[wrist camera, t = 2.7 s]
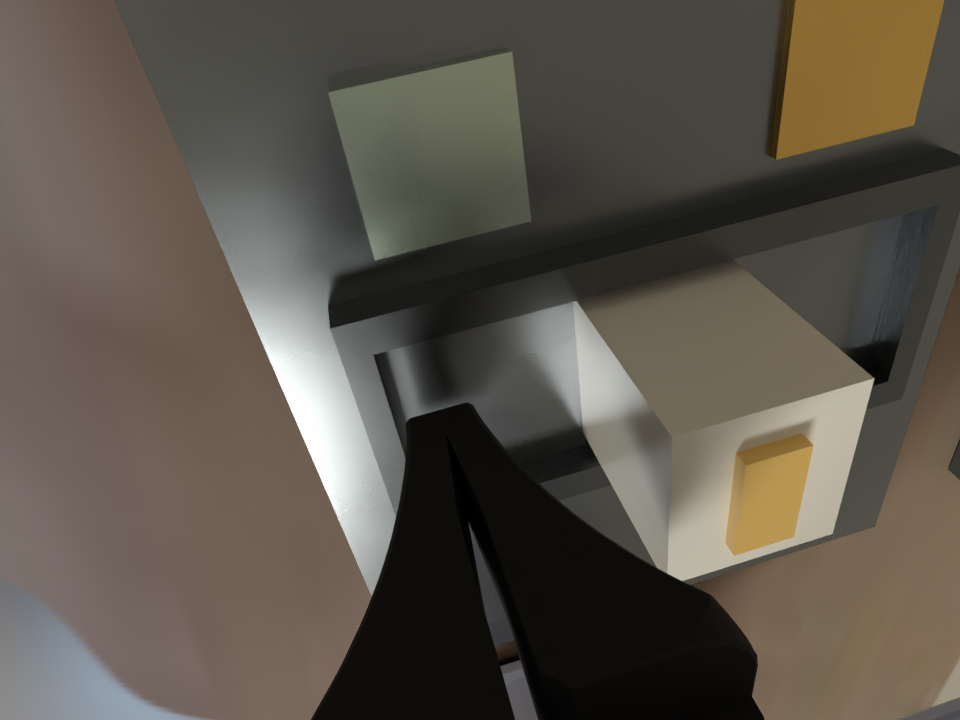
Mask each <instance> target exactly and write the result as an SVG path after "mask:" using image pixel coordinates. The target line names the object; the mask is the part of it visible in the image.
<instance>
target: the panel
mask: <svg viewBox="0 0 960 720" xmlns="http://www.w3.org/2000/svg"><path fill="white" fill-rule="evenodd" d="M115 3H116V5H117V7H118V10H119V12H120V14H121V17H122V19H123V21H124V23H125V26H126V28H127V30H128V33H129V35H130V37H131V40H132V42H133V44H134V47H135V49H136V51H137V54H138V56H139V58H140V61H141V63H142V65H143V68H144V70H145V72H146V74H147V77H148V79H149V81H150V84H151V86H152V88H153V91H154V93H155V95H156V98H157V100H158V102H159V105H160V107H161V109H162V112H163V114H164V116H165V118H166V121H167V123H168V125H169V128H170V130H171V132H172V135H173V137H174V139H175V142H176V144H177V146H178V149H179V151H180V153H181V156H182V158H183V160H184V162H185V165H186V167H187V169H188V172H189V174H190V176H191V179H192V181H193V183H194V186H195V188H196V190H197V193H198V195H199V197H200V200H201V202H202V204H203V207H204V209H205V211H206V213H207V216H208V218H209V220H210V223H211V225H212V227H213V230H214V232H215V234H216V237H217V239H218V241H219V244H220V246H221V248H222V251H223V253H224V255H225V257H226V260H227V262H228V264H229V267H230V269H231V271H232V274H233V276H234V278H235V281H236V283H237V285H238V288H239V290H240V292H241V295H242V297H243V299H244V301H245V304H246V306H247V308H248V311H249V313H250V315H251V318H252V320H253V322H254V325H255V327H256V329H257V332H258V334H259V336H260V339H261V341H262V343H263V346H264V348H265V350H266V352H267V355H268V357H269V359H270V362H271V364H272V366H273V369H274V371H275V373H276V376H277V378H278V380H279V383H280V385H281V387H282V390H283V392H284V394H285V396H286V399H287V401H288V403H289V406H290V408H291V410H292V413H293V415H294V417H295V420H296V422H297V424H298V427H299V429H300V431H301V434H302V436H303V438H304V440H305V443H306V445H307V447H308V450H309V452H310V454H311V457H312V459H313V461H314V464H315V466H316V468H317V471H318V473H319V475H320V478H321V480H322V482H323V485H324V487H325V489H326V491H327V494H328V496H329V498H330V501H331V503H332V505H333V508H334V510H335V512H336V515H337V517H338V519H339V522H340V524H341V526H342V529H343V531H344V533H345V535H346V538H347V540H348V542H349V545H350V547H351V549H352V552H353V554H354V556H355V559H356V561H357V563H358V566H359V568H360V570H361V573H362V575H363V577H364V580H365V582H366V584H367V586H368V589H369V591H370V593H371V596H372V595H373V592H374V590H375V587H376V584H377V582H378V579H379V576H380V573H381V570H382V567H383V564H384V561H385V557H386V554H387V551H388V547H389V544H390V540H391V536H392V532H393V528H394V524H395V519H396V515H397V511H398V506H399V501H400V496H401V490H402V483H403V476H404V470H405V460H406V444H407V436H406V423H407V421H408V420H409V419H410V418H412V417H416V416H420V415H423V414H427V413H430V412H434V411H437V410H441V409H445V408H448V407H452V406H455V405H459V404H462V403H466V402H468V403H470V404H472V405H474V407H475V409H476V411H477V413H478V414H479V416H480V417H481V419H482V420H483V421H484V423H485V424H486V426H487V427H488V428H489V430H490V431H491V432H492V433H493V435H494V436H495V437H496V438H497V439H498V441H499V442H500V443H501V444H502V445H503V447H504V448H505V449H506V450H507V451H508V452H509V453H510V454H511V455H512V456H513V457H514V459H515V460H516V461H517V462H518V463H519V464H520V465H521V466H522V467H523V468H524V469H525V470H526V471H527V472H528V473H529V474H530V475H531V476H532V477H533V478H534V479H535V480H536V481H537V482H538V483H539V484H541V485H542V486H543V487H544V488H545V489H546V490H547V491H548V492H549V493H550V494H551V495H553V496H554V497H555V498H556V499H557V500H558V501H560V502H561V503H562V504H563V505H564V506H566V507H567V508H568V509H569V510H571V511H572V512H573V513H574V514H576V515H577V516H578V517H580V518H581V519H582V520H583V521H585V522H586V523H588V524H589V525H590V526H592V527H593V528H594V529H596V530H597V531H599V532H600V533H601V534H603V535H604V536H606V537H608V538H609V539H611V540H612V541H614V542H615V543H617V544H618V545H620V546H622V547H623V548H625V549H626V550H628V551H629V552H631V553H633V554H634V555H636V556H637V557H639V558H641V559H642V560H644V561H646V562H648V563H649V564H651V565H653V566H655V567H656V565H655V563H654V562H653V560H652V558H651V556H650V554H649V552H648V551H647V549H646V547H645V545H644V543H643V541H642V540H641V538H640V536H639V534H638V532H637V530H636V529H635V527H634V525H633V523H632V521H631V520H630V518H629V516H628V514H627V512H626V510H625V509H624V507H623V505H622V503H621V501H620V499H619V498H618V496H617V494H616V492H615V490H614V488H613V487H612V485H611V483H610V481H609V479H608V477H607V476H606V474H605V472H604V470H603V468H602V467H601V465H600V463H599V461H598V459H597V457H596V456H595V454H594V452H593V450H592V448H591V446H590V445H589V443H588V441H587V439H586V437H585V435H584V434H583V424H582V411H581V398H580V385H579V373H578V360H577V347H576V334H575V321H574V308H573V302H574V301H578V300H582V299H586V298H589V297H593V296H597V295H601V294H605V293H608V292H612V291H616V290H620V289H623V288H627V287H631V286H635V285H638V284H642V283H646V282H650V281H654V280H657V279H661V278H665V277H669V276H672V275H676V274H680V273H684V272H688V271H691V270H695V269H699V268H703V267H706V266H710V265H714V264H718V263H721V262H725V261H729V260H734V261H735V262H737V263H738V264H739V265H740V266H741V267H742V268H744V269H745V270H746V271H747V272H748V273H750V274H751V275H752V276H753V277H754V278H756V279H757V280H758V281H759V282H760V283H762V284H763V285H764V286H765V287H766V288H767V289H769V290H770V291H771V292H772V293H773V294H775V295H776V296H777V297H778V298H779V299H781V300H782V301H783V302H784V303H785V304H787V305H788V306H789V307H790V308H791V309H792V310H794V311H795V312H796V313H797V314H798V315H800V316H801V317H802V318H803V319H804V320H806V321H807V322H808V323H809V324H810V325H812V326H813V327H814V328H815V329H816V330H817V331H819V332H820V333H821V334H822V335H823V336H825V337H826V338H827V339H828V340H829V341H831V342H832V343H833V344H834V345H835V346H837V347H838V348H839V349H840V350H841V351H842V352H844V353H845V354H846V355H847V356H848V357H850V358H851V359H852V360H853V361H854V362H856V363H857V364H858V365H859V366H860V367H862V368H863V369H864V370H865V371H866V372H867V373H869V374H870V375H871V376H872V377H873V378H874V382H873V386H872V389H871V393H870V397H869V401H868V404H867V408H866V412H865V415H864V419H863V423H862V427H861V430H860V434H859V438H858V441H857V445H856V449H855V453H854V456H853V460H852V464H851V467H850V471H849V475H848V479H847V482H846V486H845V490H844V493H843V497H842V501H841V504H840V508H839V512H838V516H837V519H836V523H835V527H834V530H833V534H831V535H827V536H824V537H821V538H818V539H815V540H812V541H808V542H805V543H802V544H799V545H796V546H793V547H789V548H786V549H783V550H780V551H777V552H773V553H770V554H767V555H764V556H761V557H758V558H754V559H751V560H748V561H745V562H742V563H738V564H735V565H732V566H729V567H726V568H723V569H719V570H716V571H713V572H710V573H707V574H703V575H700V576H697V577H694V578H691V579H688V580H684V581H683V582H685V583H687V584H689V585H691V584H694V583H698V582H701V581H704V580H707V579H710V578H713V577H717V576H720V575H723V574H726V573H729V572H732V571H736V570H739V569H742V568H745V567H748V566H751V565H755V564H758V563H761V562H764V561H767V560H770V559H774V558H777V557H780V556H783V555H786V554H789V553H793V552H796V551H799V550H802V549H805V548H808V547H812V546H815V545H818V544H821V543H824V542H827V541H831V540H834V539H837V538H840V537H843V536H846V535H850V534H853V533H856V532H859V531H862V530H865V529H869V528H872V527H875V525H876V521H877V518H878V515H879V512H880V509H881V506H882V503H883V500H884V497H885V494H886V491H887V488H888V485H889V482H890V479H891V476H892V472H893V469H894V466H895V463H896V460H897V457H898V454H899V451H900V448H901V445H902V442H903V439H904V436H905V433H906V430H907V427H908V424H909V420H910V417H911V414H912V411H913V408H914V405H915V402H916V399H917V396H918V393H919V390H920V387H921V384H922V381H923V378H924V375H925V371H926V368H927V365H928V362H929V359H930V356H931V353H932V350H933V347H934V344H935V341H936V338H937V335H938V332H939V329H940V326H941V323H942V319H943V316H944V313H945V310H946V307H947V304H948V301H949V298H950V295H951V292H952V289H953V286H954V283H955V280H956V277H957V274H958V271H959V267H960V0H115ZM469 528H470V533H471V538H472V544H473V549H474V555H475V560H476V566H477V571H478V577H479V582H480V588H481V593H482V598H483V604H484V609H485V615H486V618H487V622H488V625H489V629H490V632H491V636H492V639H493V643H494V646H498V645H501V644H504V643H507V642H511V641H514V638H513V634H512V631H511V628H510V625H509V623H508V620H507V617H506V614H505V611H504V609H503V606H502V604H501V601H500V599H499V596H498V594H497V591H496V589H495V587H494V584H493V582H492V579H491V577H490V574H489V572H488V569H487V567H486V564H485V562H484V559H483V557H482V554H481V552H480V549H479V547H478V544H477V542H476V539H475V537H474V534H473V532H472V529H471V527H470V524H469Z"/></svg>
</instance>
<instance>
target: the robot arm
mask: <svg viewBox="0 0 960 720" xmlns="http://www.w3.org/2000/svg"><path fill="white" fill-rule="evenodd" d="M406 436H407V444H406V460H405V470H404V476H403V483H402V490H401V496H400V501H399V506H398V511H397V515H396V519H395V524H394V528H393V532H392V536H391V540H390V544H389V547H388V551H387V554H386V557H385V561H384V564H383V567H382V570H381V573H380V576H379V579H378V582H377V584H376V587H375V590H374V592H373V595H372V598H371V600H370V603H369V606H368V608H367V610H366V613H365V615H364V618H363V620H362V622H361V625H360V627H359V629H358V631H357V633H356V635H355V637H354V640H353V642H352V644H351V646H350V648H349V650H348V652H347V654H346V656H345V659H344V661H343V663H342V665H341V667H340V669H339V671H338V672H337V674H336V676H335V678H334V680H333V682H332V683H331V685H330V687H329V689H328V690H327V692H326V694H325V696H324V698H323V699H322V701H321V703H320V705H319V706H318V708H317V710H316V712H315V713H314V715H313V717H312V719H311V720H764V717H763V715H762V713H761V712H760V710H759V708H758V706H757V705H756V703H755V701H754V699H753V698H752V692H753V687H754V682H755V677H756V672H757V667H758V663H757V654H756V653H755V651H754V650H753V648H752V646H751V644H750V642H749V641H748V639H747V637H746V636H745V635H744V633H743V632H742V631H741V629H740V628H739V627H738V626H737V624H736V623H735V622H734V621H733V619H732V618H731V617H730V616H729V614H728V613H727V612H726V611H725V610H724V609H723V608H722V606H721V605H720V604H719V603H718V602H717V601H716V600H715V599H714V598H713V597H712V596H711V595H710V594H708V593H706V592H704V591H701V590H699V589H697V588H695V587H693V586H691V585H689V584H687V583H685V582H683V581H681V580H679V579H677V578H675V577H673V576H671V575H669V574H667V573H665V572H664V571H662V570H660V569H658V568H657V567H655V566H653V565H651V564H649V563H648V562H646V561H644V560H642V559H641V558H639V557H637V556H636V555H634V554H633V553H631V552H629V551H628V550H626V549H625V548H623V547H622V546H620V545H618V544H617V543H615V542H614V541H612V540H611V539H609V538H608V537H606V536H604V535H603V534H601V533H600V532H599V531H597V530H596V529H594V528H593V527H592V526H590V525H589V524H588V523H586V522H585V521H583V520H582V519H581V518H580V517H578V516H577V515H576V514H574V513H573V512H572V511H571V510H569V509H568V508H567V507H566V506H564V505H563V504H562V503H561V502H560V501H558V500H557V499H556V498H555V497H554V496H553V495H551V494H550V493H549V492H548V491H547V490H546V489H545V488H544V487H543V486H542V485H541V484H539V483H538V482H537V481H536V480H535V479H534V478H533V477H532V476H531V475H530V474H529V473H528V472H527V471H526V470H525V469H524V468H523V467H522V466H521V465H520V464H519V463H518V462H517V461H516V460H515V459H514V457H513V456H512V455H511V454H510V453H509V452H508V451H507V450H506V449H505V448H504V447H503V445H502V444H501V443H500V442H499V441H498V439H497V438H496V437H495V436H494V435H493V433H492V432H491V431H490V430H489V428H488V427H487V426H486V424H485V423H484V421H483V420H482V419H481V417H480V416H479V414H478V413H477V411H476V409H475V407H474V405H472V404H470V403H468V402H466V403H462V404H459V405H455V406H452V407H448V408H445V409H441V410H437V411H434V412H430V413H427V414H423V415H420V416H416V417H412V418H410V419H409V420H408V421H407V423H406ZM469 524H470V527H471V529H472V532H473V534H474V537H475V539H476V542H477V544H478V547H479V549H480V552H481V554H482V557H483V559H484V562H485V564H486V567H487V569H488V572H489V574H490V577H491V579H492V582H493V584H494V587H495V589H496V591H497V594H498V596H499V599H500V601H501V604H502V606H503V609H504V611H505V614H506V617H507V620H508V623H509V625H510V628H511V631H512V634H513V638H514V641H515V644H516V648H517V651H518V654H519V658H520V660H518V661H515V662H511V663H508V664H505V665H502V666H500V664H499V660H498V657H497V653H496V650H495V646H494V643H493V639H492V636H491V632H490V629H489V625H488V622H487V618H486V615H485V609H484V604H483V598H482V593H481V588H480V582H479V577H478V571H477V566H476V560H475V555H474V549H473V544H472V538H471V533H470V528H469ZM897 720H960V698H957V699H954V700H951V701H948V702H946V703H943V704H940V705H937V706H934V707H931V708H928V709H925V710H923V711H920V712H917V713H914V714H911V715H908V716H905V717H903V718H900V719H897Z"/></svg>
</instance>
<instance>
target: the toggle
mask: <svg viewBox="0 0 960 720" xmlns="http://www.w3.org/2000/svg"><path fill="white" fill-rule="evenodd" d="M573 308H574V321H575V334H576V347H577V360H578V373H579V385H580V398H581V411H582V424H583V434H584V435H585V437H586V439H587V441H588V443H589V445H590V446H591V448H592V450H593V452H594V454H595V456H596V457H597V459H598V461H599V463H600V465H601V467H602V468H603V470H604V472H605V474H606V476H607V477H608V479H609V481H610V483H611V485H612V487H613V488H614V490H615V492H616V494H617V496H618V498H619V499H620V501H621V503H622V505H623V507H624V509H625V510H626V512H627V514H628V516H629V518H630V520H631V521H632V523H633V525H634V527H635V529H636V530H637V532H638V534H639V536H640V538H641V540H642V541H643V543H644V545H645V547H646V549H647V551H648V552H649V554H650V556H651V558H652V560H653V562H654V563H655V565H656V567H657V568H658V569H660V570H662V571H664V572H665V573H667V574H669V575H671V576H673V577H675V578H677V579H679V580H681V581H684V580H688V579H691V578H694V577H697V576H700V575H703V574H707V573H710V572H713V571H716V570H719V569H723V568H726V567H729V566H732V565H735V564H738V563H742V562H745V561H748V560H751V559H754V558H758V557H761V556H764V555H767V554H770V553H773V552H777V551H780V550H783V549H786V548H789V547H793V546H796V545H799V544H802V543H805V542H808V541H812V540H815V539H818V538H821V537H824V536H827V535H831V534H833V530H834V527H835V523H836V519H837V516H838V512H839V508H840V504H841V501H842V497H843V493H844V490H845V486H846V482H847V479H848V475H849V471H850V467H851V464H852V460H853V456H854V453H855V449H856V445H857V441H858V438H859V434H860V430H861V427H862V423H863V419H864V415H865V412H866V408H867V404H868V401H869V397H870V393H871V389H872V386H873V382H874V378H873V377H872V376H871V375H870V374H869V373H867V372H866V371H865V370H864V369H863V368H862V367H860V366H859V365H858V364H857V363H856V362H854V361H853V360H852V359H851V358H850V357H848V356H847V355H846V354H845V353H844V352H842V351H841V350H840V349H839V348H838V347H837V346H835V345H834V344H833V343H832V342H831V341H829V340H828V339H827V338H826V337H825V336H823V335H822V334H821V333H820V332H819V331H817V330H816V329H815V328H814V327H813V326H812V325H810V324H809V323H808V322H807V321H806V320H804V319H803V318H802V317H801V316H800V315H798V314H797V313H796V312H795V311H794V310H792V309H791V308H790V307H789V306H788V305H787V304H785V303H784V302H783V301H782V300H781V299H779V298H778V297H777V296H776V295H775V294H773V293H772V292H771V291H770V290H769V289H767V288H766V287H765V286H764V285H763V284H762V283H760V282H759V281H758V280H757V279H756V278H754V277H753V276H752V275H751V274H750V273H748V272H747V271H746V270H745V269H744V268H742V267H741V266H740V265H739V264H738V263H737V262H735V261H734V260H729V261H725V262H721V263H718V264H714V265H710V266H706V267H703V268H699V269H695V270H691V271H688V272H684V273H680V274H676V275H672V276H669V277H665V278H661V279H657V280H654V281H650V282H646V283H642V284H638V285H635V286H631V287H627V288H623V289H620V290H616V291H612V292H608V293H605V294H601V295H597V296H593V297H589V298H586V299H582V300H578V301H574V302H573Z"/></svg>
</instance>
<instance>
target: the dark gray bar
mask: <svg viewBox="0 0 960 720" xmlns="http://www.w3.org/2000/svg"><path fill="white" fill-rule="evenodd" d="M949 471H951V472H952V473H953V474H954V475H955V476H956V477H957V478H958V479H960V442H959V445H958V447H957V450H956V452H955V455H954V457H953V460H952V462H951V465H950V467H949Z"/></svg>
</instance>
